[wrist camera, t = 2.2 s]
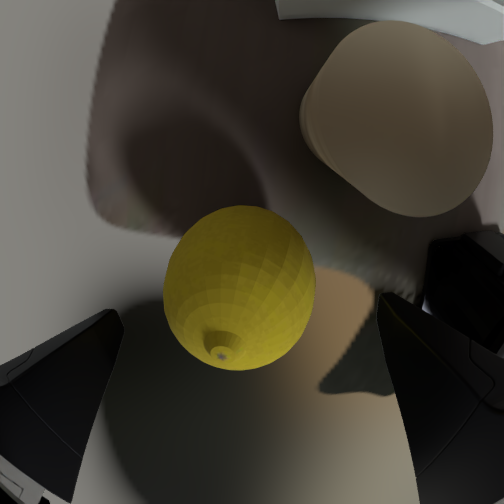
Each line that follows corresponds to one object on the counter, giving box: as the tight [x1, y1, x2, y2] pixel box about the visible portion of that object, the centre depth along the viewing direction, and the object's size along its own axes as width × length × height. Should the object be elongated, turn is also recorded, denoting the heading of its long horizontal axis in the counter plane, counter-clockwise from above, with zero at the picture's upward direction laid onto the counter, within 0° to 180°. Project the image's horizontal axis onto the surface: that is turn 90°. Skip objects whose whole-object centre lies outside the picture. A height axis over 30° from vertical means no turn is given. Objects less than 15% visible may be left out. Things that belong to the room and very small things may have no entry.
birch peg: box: [299, 20, 493, 217], centre depth 8 cm, size 5×5×7 cm
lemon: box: [163, 205, 316, 370], centre depth 11 cm, size 6×6×8 cm
